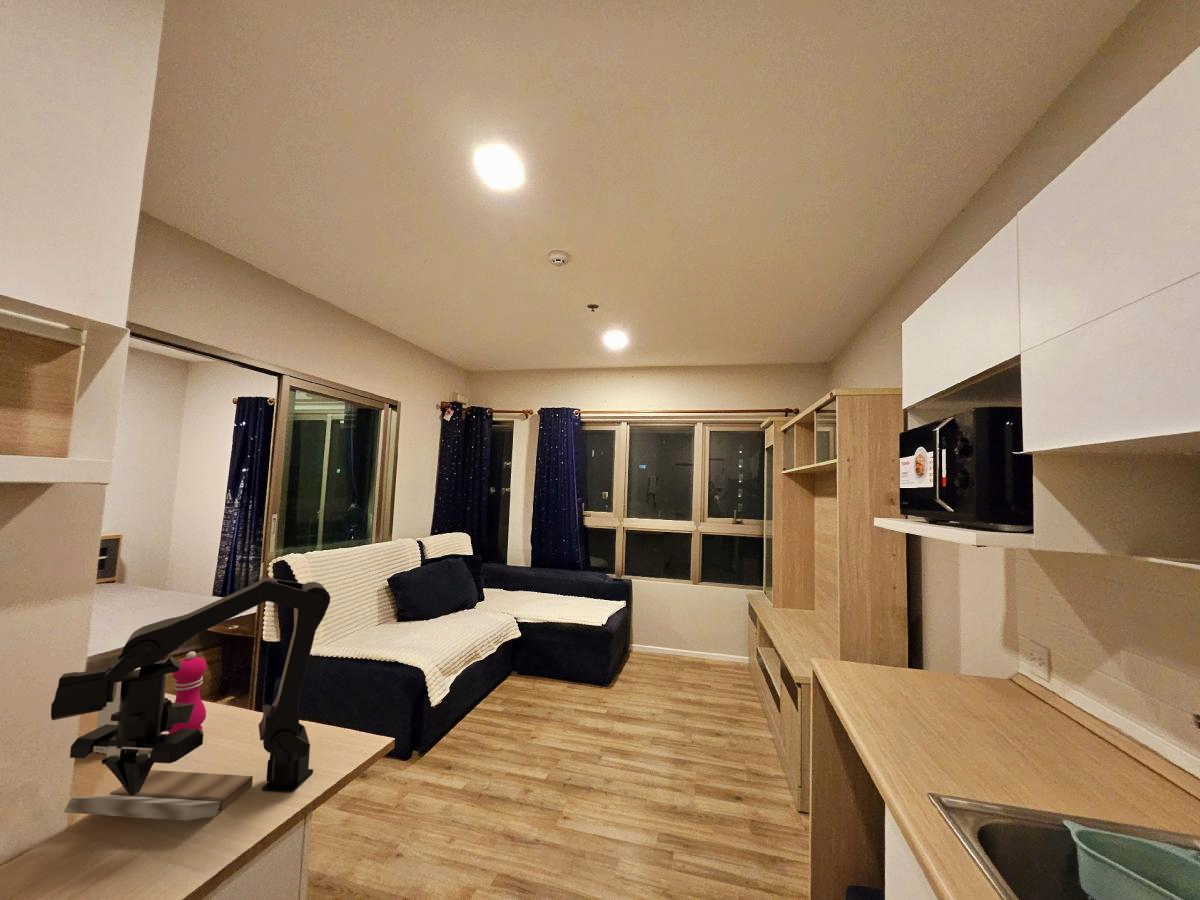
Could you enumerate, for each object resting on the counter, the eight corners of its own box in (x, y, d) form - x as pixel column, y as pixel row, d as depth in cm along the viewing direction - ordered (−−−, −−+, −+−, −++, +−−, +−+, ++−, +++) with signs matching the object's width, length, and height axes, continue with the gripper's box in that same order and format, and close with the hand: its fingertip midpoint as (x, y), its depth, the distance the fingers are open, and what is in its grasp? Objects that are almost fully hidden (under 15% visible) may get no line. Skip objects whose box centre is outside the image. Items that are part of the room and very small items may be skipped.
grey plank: (215, 815, 83) (221, 801, 85) (186, 820, 78) (192, 805, 79) (101, 808, 84) (108, 794, 86) (63, 812, 79) (71, 797, 80)
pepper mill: (155, 750, 102) (162, 658, 104) (175, 732, 109) (182, 647, 111) (193, 746, 104) (200, 656, 106) (211, 728, 111) (217, 645, 112)
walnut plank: (252, 786, 92) (252, 775, 92) (221, 811, 85) (222, 800, 85) (147, 780, 93) (148, 769, 93) (108, 804, 86) (109, 793, 86)
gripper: (232, 683, 88) (225, 767, 87) (139, 678, 89) (132, 761, 88) (176, 713, 77) (168, 809, 76) (71, 707, 78) (62, 802, 77)
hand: (134, 793), depth 80 cm, fingers closed
